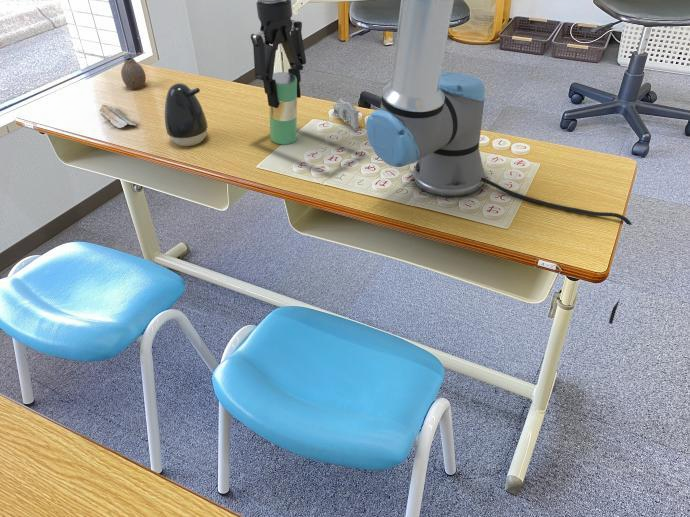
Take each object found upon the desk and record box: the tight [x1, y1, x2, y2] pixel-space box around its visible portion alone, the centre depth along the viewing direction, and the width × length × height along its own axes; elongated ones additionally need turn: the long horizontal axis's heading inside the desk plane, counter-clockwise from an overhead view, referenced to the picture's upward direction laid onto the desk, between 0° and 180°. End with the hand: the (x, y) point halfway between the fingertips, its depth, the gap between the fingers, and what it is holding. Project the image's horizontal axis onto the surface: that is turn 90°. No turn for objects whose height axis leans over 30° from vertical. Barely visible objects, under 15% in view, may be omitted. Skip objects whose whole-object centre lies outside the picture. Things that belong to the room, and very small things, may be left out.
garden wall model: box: [332, 98, 361, 129], centre depth 154 cm, size 12×2×6 cm, turn 28°
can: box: [268, 71, 298, 145], centre depth 143 cm, size 16×7×7 cm
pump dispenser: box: [164, 82, 209, 147], centre depth 145 cm, size 10×10×15 cm
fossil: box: [98, 104, 137, 129], centre depth 163 cm, size 18×3×4 cm
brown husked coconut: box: [120, 57, 147, 90], centre depth 179 cm, size 7×7×9 cm
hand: (284, 101), depth 141 cm, fingers closed on can, 7 cm apart
